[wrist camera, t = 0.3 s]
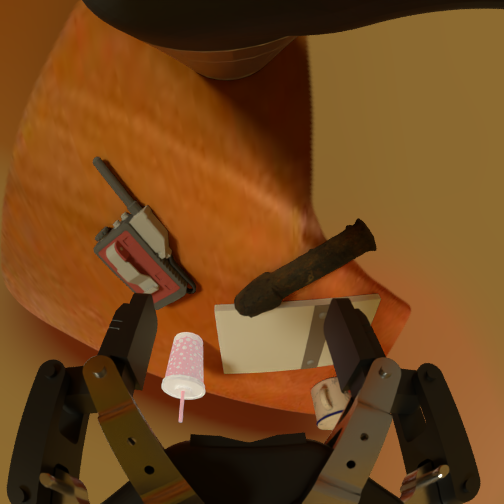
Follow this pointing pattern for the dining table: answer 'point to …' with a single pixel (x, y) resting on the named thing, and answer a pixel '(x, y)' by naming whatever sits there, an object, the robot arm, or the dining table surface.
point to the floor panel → (280, 335)
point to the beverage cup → (185, 369)
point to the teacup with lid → (329, 402)
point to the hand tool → (304, 270)
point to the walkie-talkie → (140, 250)
